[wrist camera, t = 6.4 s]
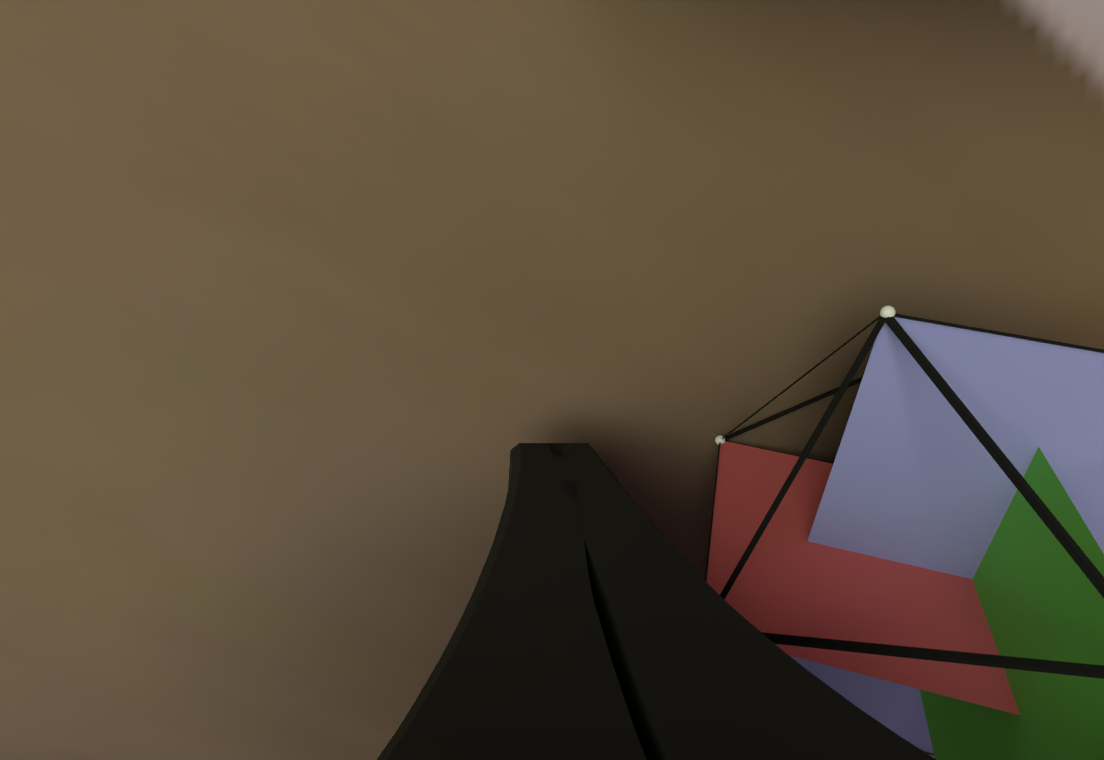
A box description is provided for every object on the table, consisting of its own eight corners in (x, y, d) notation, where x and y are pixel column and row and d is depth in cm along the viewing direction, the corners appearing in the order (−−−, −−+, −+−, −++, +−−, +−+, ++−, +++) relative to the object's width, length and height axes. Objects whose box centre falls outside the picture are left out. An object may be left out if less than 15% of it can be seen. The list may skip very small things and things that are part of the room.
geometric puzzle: (536, 701, 11) (1155, 1317, 6) (586, 285, 8) (1964, 913, 3) (780, 515, 16) (1248, 791, 11) (877, 201, 12) (1614, 399, 8)
